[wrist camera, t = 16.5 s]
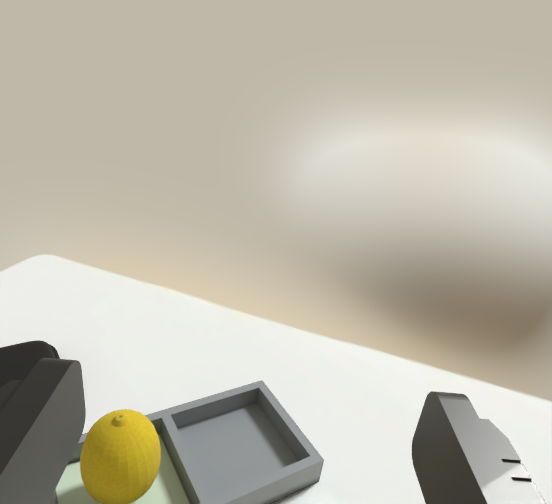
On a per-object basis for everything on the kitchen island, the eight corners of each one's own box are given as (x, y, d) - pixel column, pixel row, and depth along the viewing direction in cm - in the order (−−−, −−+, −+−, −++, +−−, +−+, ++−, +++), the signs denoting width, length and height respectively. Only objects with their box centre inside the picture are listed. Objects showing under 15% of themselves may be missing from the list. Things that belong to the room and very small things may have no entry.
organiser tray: (259, 399, 46) (262, 380, 45) (319, 480, 38) (323, 460, 37) (38, 471, 36) (34, 448, 35) (55, 604, 28) (51, 579, 27)
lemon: (127, 544, 31) (126, 461, 28) (65, 509, 32) (57, 427, 29) (174, 482, 36) (177, 405, 32) (118, 454, 37) (116, 378, 34)
